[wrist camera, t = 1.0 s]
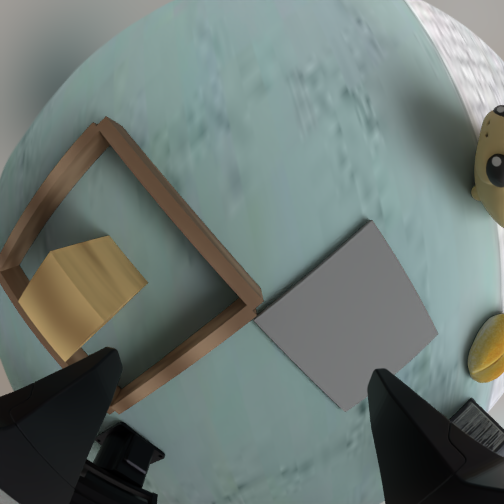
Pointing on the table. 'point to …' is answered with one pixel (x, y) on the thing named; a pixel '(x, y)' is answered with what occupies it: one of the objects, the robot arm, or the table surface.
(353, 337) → the mat
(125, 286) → the ochre block
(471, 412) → the small box
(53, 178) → the wooden picture frame
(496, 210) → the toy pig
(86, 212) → the table surface
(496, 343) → the yellow rounded lump
